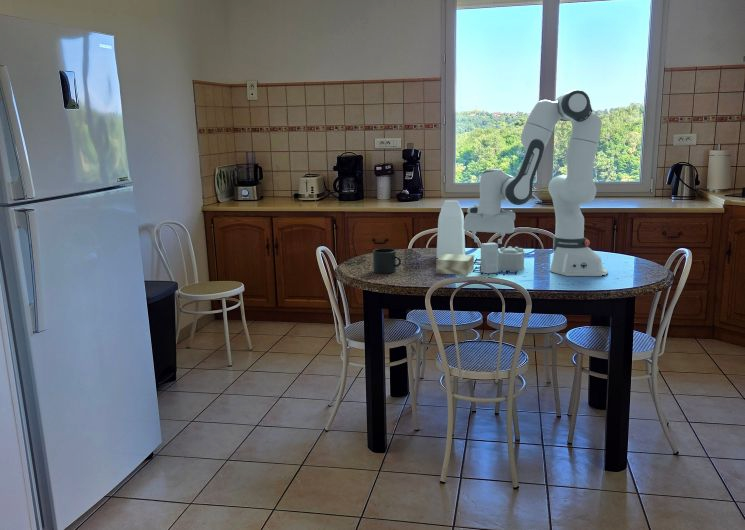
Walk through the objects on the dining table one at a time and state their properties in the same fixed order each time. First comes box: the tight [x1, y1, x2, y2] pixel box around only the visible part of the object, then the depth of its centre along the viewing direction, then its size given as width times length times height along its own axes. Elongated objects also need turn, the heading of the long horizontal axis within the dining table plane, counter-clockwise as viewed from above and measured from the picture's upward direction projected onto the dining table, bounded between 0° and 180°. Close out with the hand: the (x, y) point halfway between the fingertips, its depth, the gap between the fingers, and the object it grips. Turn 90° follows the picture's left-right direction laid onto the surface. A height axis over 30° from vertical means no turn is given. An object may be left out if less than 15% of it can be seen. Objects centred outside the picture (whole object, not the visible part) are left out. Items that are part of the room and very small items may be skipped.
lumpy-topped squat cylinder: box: [498, 245, 525, 272], centre depth 276 cm, size 10×13×9 cm
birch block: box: [435, 254, 475, 276], centre depth 272 cm, size 13×13×6 cm
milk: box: [435, 200, 466, 258], centre depth 299 cm, size 12×12×26 cm
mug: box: [372, 248, 402, 275], centre depth 271 cm, size 9×12×9 cm
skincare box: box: [480, 242, 499, 274], centre depth 267 cm, size 6×4×12 cm
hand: (487, 242), depth 266 cm, fingers open, 8 cm apart
